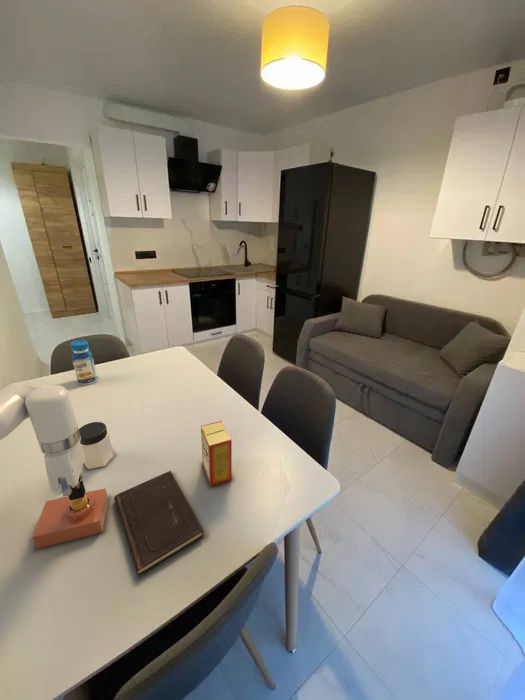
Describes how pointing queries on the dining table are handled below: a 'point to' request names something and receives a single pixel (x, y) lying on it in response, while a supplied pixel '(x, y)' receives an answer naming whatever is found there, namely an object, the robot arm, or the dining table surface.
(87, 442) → the jar
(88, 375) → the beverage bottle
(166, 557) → the hardcover book
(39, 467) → the dining table surface
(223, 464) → the baking soda box
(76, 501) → the yellow push button
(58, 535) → the push button box
